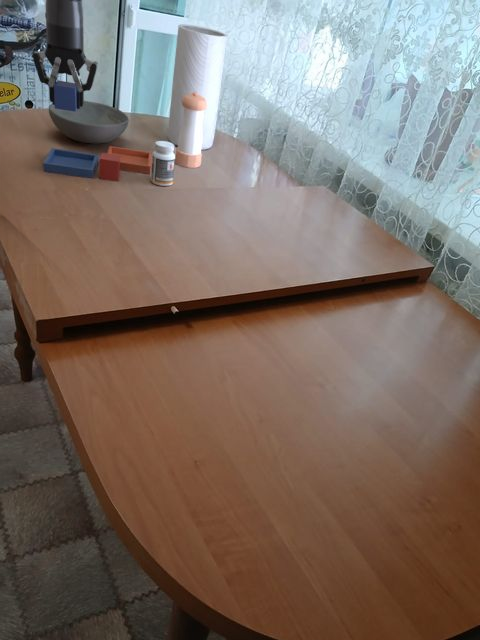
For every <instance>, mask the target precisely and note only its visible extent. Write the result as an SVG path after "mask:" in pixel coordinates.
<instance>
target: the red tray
mask: <svg viewBox="0 0 480 640" xmlns="http://www.w3.org/2000/svg"><path fill="white" fill-rule="evenodd" d="M106 153H107V154H114V155H120V171H122V172H123V171H124V172H131V173H138V174H139V173H140V174H145V175H151V171H152V157H153V152H151V151H146V150H139V149H133V148H125V147H118V146H112V145H109V146H108V148H107V152H106Z"/></svg>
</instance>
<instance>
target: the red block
mask: <svg viewBox="0 0 480 640" xmlns="http://www.w3.org/2000/svg"><path fill="white" fill-rule="evenodd" d="M98 167H99V168H98V172H99V173H98V178H99V180H107V181H115V182H119V180H120V175H121V170H120V155H114V154H107V152H101V154H100V156H99V160H98Z"/></svg>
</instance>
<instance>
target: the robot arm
mask: <svg viewBox="0 0 480 640" xmlns="http://www.w3.org/2000/svg"><path fill="white" fill-rule="evenodd" d="M44 18H45V29H46V48H45V50H44V51H38V50H36V51H34V52H33V53H32V60H33V64H34V66H35V70H36V73H37V76H38V79H39V82H40V83H41V84H44V85H47V86H48V95H49V96H48V99H49V101H50V103H53V105H55V102H54V84H55V83H56V82H57V80H58V77H59V75H60V74H61V75H63V74H66V75H67V76H72V80H73V83H75V85H76V88H77V92H76V101H77V109H80V108H81V107H82V106H83V104H84V101H85V92H87V91H88V92H89V91H91V89H92V88H93V84H94V81H95V77H96V75H97V71H98V67H99V63H98V62H97V61H93V60H91V59H88V58H87V57H86V54H85V51H84V48H85V47H84V46H85V45H84V37H85V35H84V6H83V0H45V13H44ZM46 59H47V61H48V62H49V64H50V65H51V67H52V69H51V72H50V75H49V76H48V75H47V72H46V69H45V65H44V63H45V61H46ZM84 65H85V66H86V70H87V72H88V74H87V75H88V76H87V78H86V81H85V83H84V82H83V80H82V74H81V72H80V70H81V69H82V68H83V66H84Z"/></svg>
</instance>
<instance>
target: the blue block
mask: <svg viewBox="0 0 480 640" xmlns="http://www.w3.org/2000/svg"><path fill="white" fill-rule="evenodd" d="M76 92H77V88H76V85H75V82H71V81H64V80H58V79H57V81H56V83H55V84H54V102H55V108H56V109H62V110H68V111H74V112H76V110H77V101H76Z"/></svg>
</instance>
